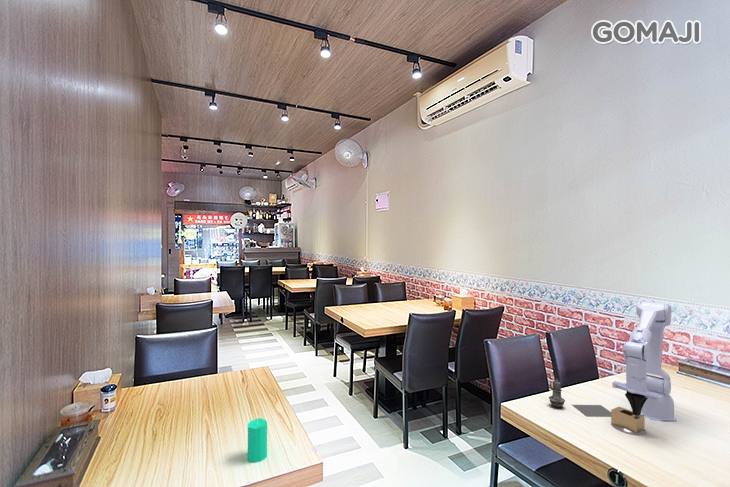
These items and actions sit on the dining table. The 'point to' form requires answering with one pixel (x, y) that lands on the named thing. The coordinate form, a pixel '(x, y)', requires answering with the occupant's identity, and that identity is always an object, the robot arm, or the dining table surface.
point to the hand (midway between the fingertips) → (636, 414)
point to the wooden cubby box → (627, 420)
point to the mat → (593, 410)
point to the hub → (628, 430)
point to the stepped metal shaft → (556, 396)
